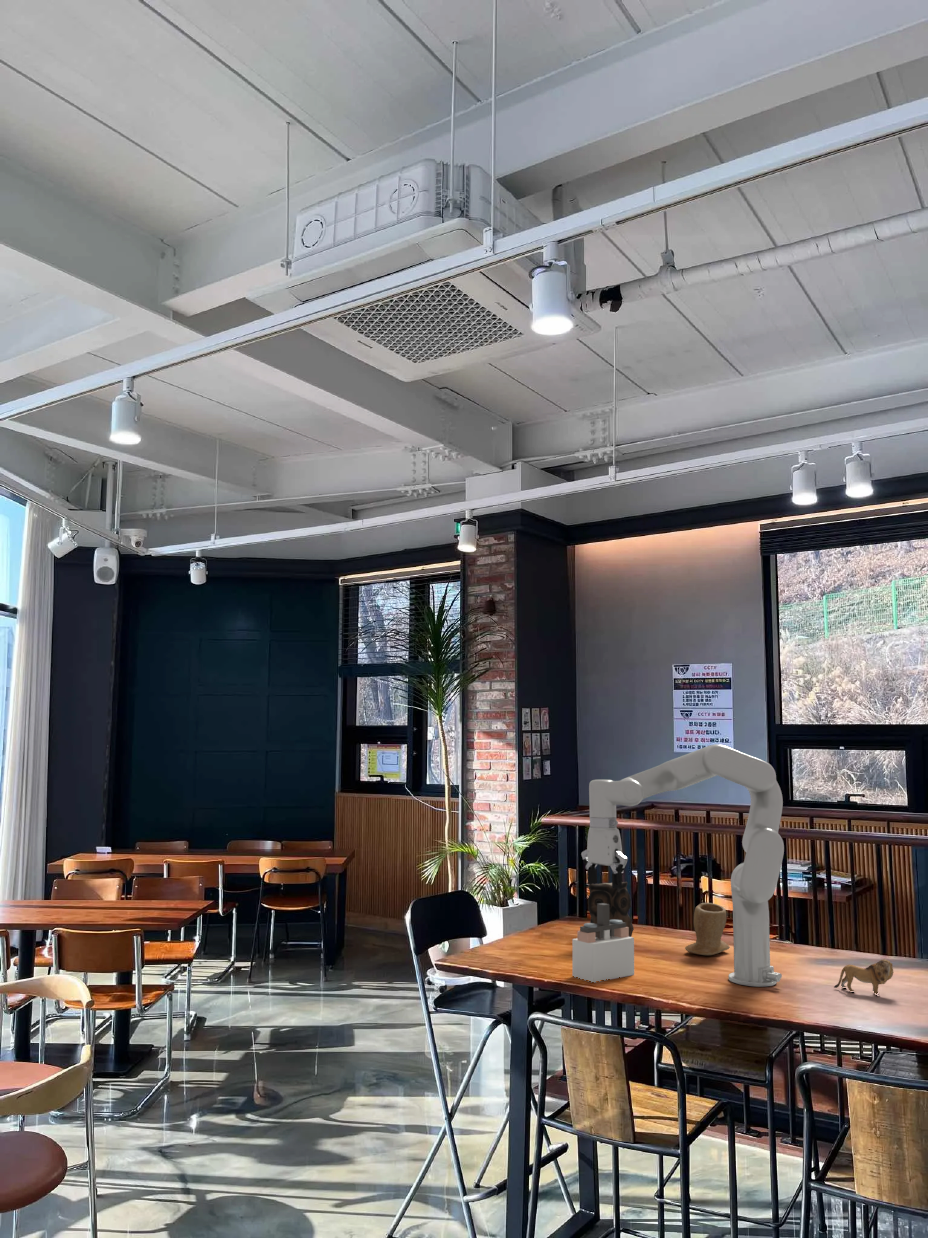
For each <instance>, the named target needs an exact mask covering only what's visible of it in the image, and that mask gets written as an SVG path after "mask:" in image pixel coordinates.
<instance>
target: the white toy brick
mask: <svg viewBox="0 0 928 1238" xmlns="http://www.w3.org/2000/svg"><path fill="white" fill-rule="evenodd" d="M576 934H577V937H576V938H572V949H571V951H572V957H571V958H572V960H571V961H572V965H571V966H572V976H574V977H573V978H576V977H578V978H577V979H579V978H580V979H579V980H582V979H584V980H583V981H586V980H589V981H591V982H590V983H592V982H594V983H597V982H596V981H599V982H601V981H600V980H604V981H608V979H610V980H614V979H619V977H620V978H624V977H625V978H626V977H629V976H635V937H633V936H631V937H629V927H624V928H618V929H614V937H610V930H604V931H603V938H601V939H600V938H596V937H595V932H591V933H586V932H582V931H580V930H577V933H576ZM606 979H607V980H606ZM589 981H588V982H589Z"/></svg>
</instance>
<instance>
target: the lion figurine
mask: <svg viewBox="0 0 928 1238" xmlns="http://www.w3.org/2000/svg"><path fill="white" fill-rule="evenodd" d="M893 977H894V968H893V963H892V962H891V961H890V960H888V959H885V958H884V959H880V960H878V961H877V962H875V963H873V964H870V965H869V966H867V967H865V968H864V967H861V966H860V967H859V966H856V965H855V964H854V965H853V964H846V965H845V966H844V967H843V968H842V970H841V972H840V975H839V980H838V983H837V984H836V985H834V986H833V988H835V989H836V988H837V989H838V988H839V987H841V986H842V987H847V989H848V990H850V991H855V990H854V989H853V988H852V983H853V980H854V978H855V979H856V980H858V981H859V982H862V983H865V984H872V992H873V991H874V993H876V994H877V993H878V992H879V985H885V984H886V983H887V981H889V980H890V979H892V978H893ZM846 983H847V985H846V986H845V984H846ZM842 987H841V988H842ZM850 991H849V992H850ZM874 993H873V994H874Z"/></svg>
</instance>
